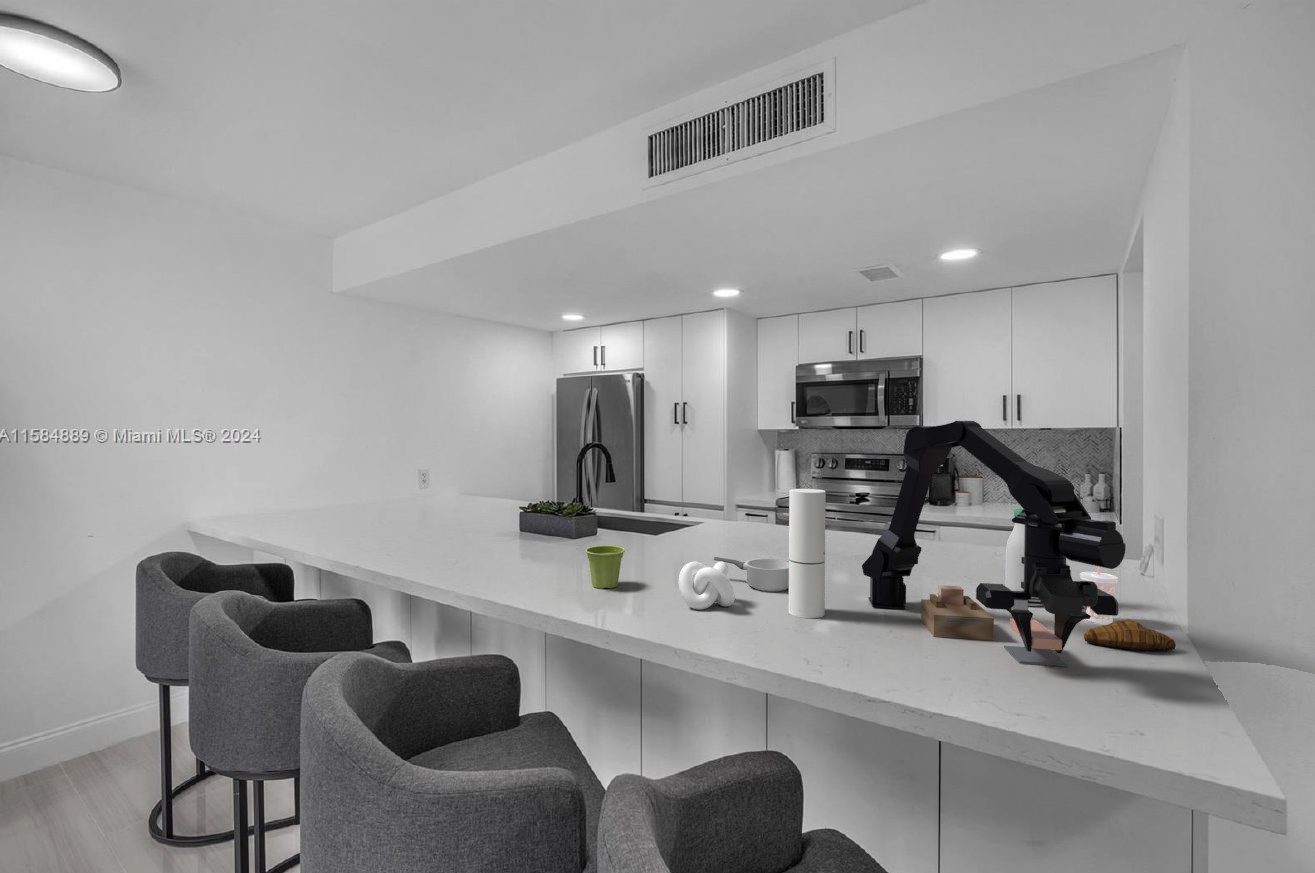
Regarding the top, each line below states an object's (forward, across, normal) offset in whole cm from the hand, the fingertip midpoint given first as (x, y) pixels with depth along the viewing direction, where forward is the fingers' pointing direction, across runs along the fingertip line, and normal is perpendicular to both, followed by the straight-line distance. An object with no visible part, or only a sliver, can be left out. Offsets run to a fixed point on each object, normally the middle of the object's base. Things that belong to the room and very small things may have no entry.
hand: (1043, 651), depth 98 cm
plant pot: (+2, -82, +32) cm, 88 cm away
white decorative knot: (+2, -57, +22) cm, 61 cm away
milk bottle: (+2, +11, +37) cm, 39 cm away
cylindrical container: (+2, -36, +20) cm, 41 cm away
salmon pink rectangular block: (-1, 0, +3) cm, 4 cm away
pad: (+2, 0, +4) cm, 4 cm away
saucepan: (+2, -48, +41) cm, 63 cm away
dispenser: (+2, -9, +16) cm, 18 cm away
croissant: (+2, +18, +12) cm, 22 cm away
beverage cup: (+2, +20, +26) cm, 33 cm away
